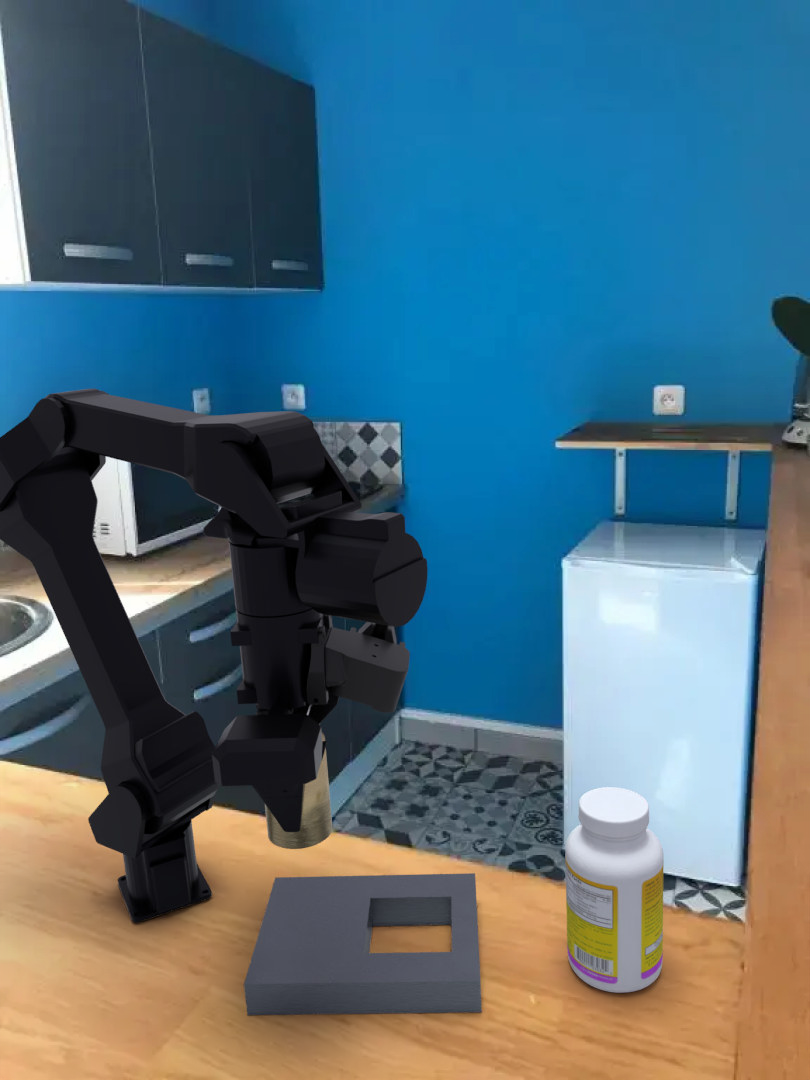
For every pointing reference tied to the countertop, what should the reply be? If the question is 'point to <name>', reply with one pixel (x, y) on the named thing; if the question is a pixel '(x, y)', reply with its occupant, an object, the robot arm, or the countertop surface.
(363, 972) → the jig
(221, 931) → the countertop surface
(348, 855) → the countertop surface
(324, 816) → the bushing
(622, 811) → the supplement bottle
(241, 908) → the countertop surface
